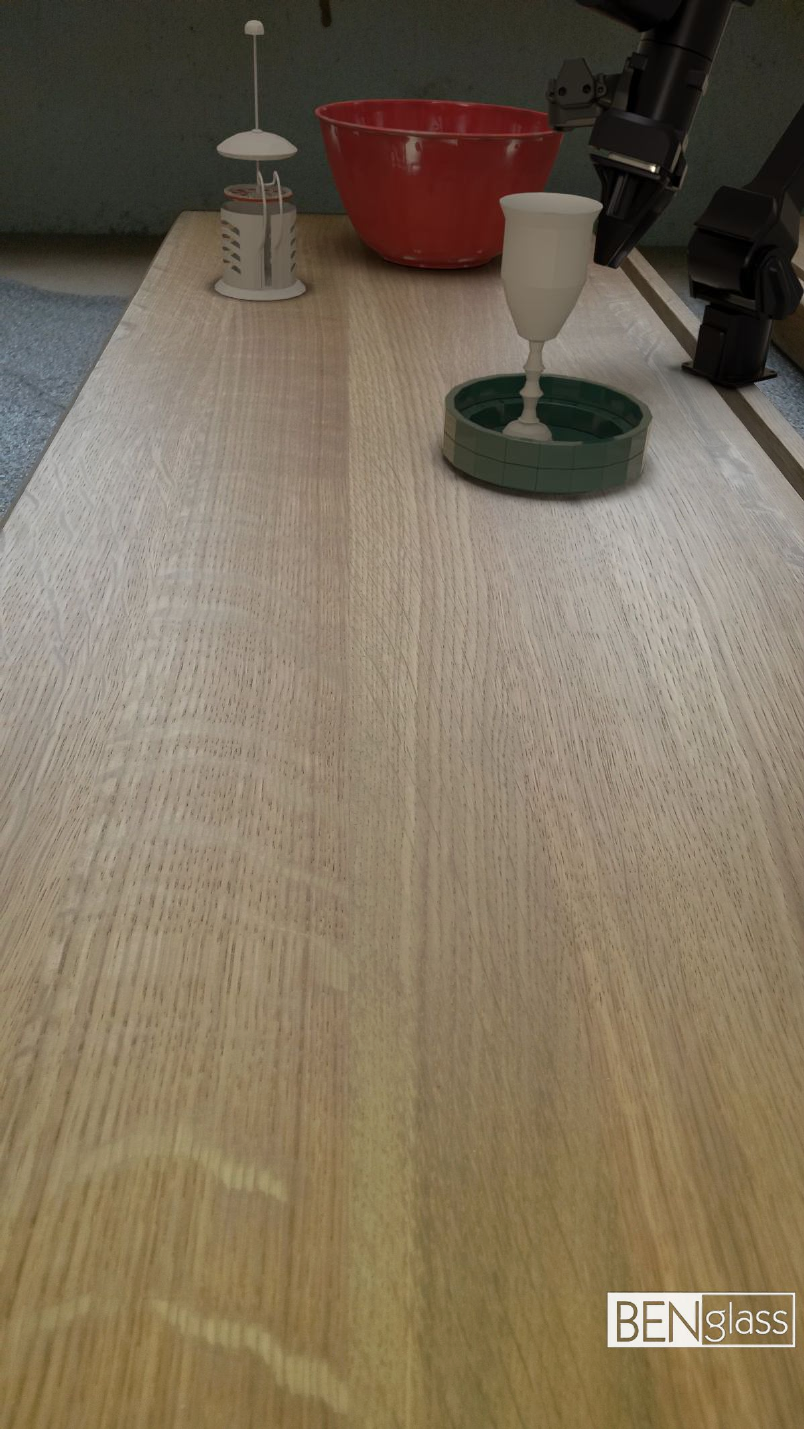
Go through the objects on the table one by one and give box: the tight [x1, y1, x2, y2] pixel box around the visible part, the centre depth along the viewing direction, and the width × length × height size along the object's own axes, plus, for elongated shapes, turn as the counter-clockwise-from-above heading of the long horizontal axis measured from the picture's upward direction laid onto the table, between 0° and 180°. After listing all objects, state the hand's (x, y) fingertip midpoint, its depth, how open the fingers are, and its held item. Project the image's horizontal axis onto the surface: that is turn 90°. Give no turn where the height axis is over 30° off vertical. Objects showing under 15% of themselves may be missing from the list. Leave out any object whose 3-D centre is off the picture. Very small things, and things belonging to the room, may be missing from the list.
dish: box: [441, 372, 654, 495], centre depth 92 cm, size 15×15×4 cm
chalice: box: [500, 192, 603, 441], centre depth 87 cm, size 7×7×18 cm
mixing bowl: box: [314, 98, 565, 270], centre depth 141 cm, size 28×28×15 cm
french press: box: [214, 19, 307, 301], centre depth 123 cm, size 10×12×25 cm
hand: (605, 266), depth 97 cm, fingers open, 9 cm apart
